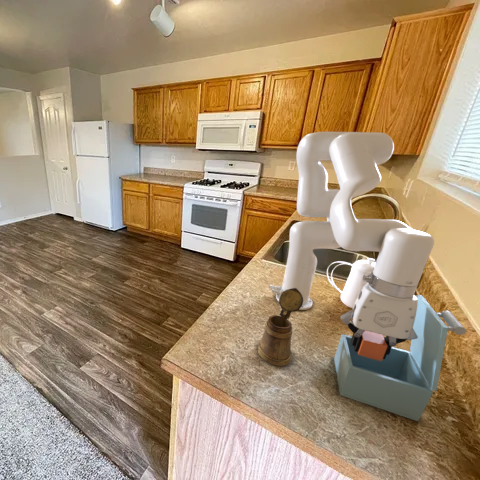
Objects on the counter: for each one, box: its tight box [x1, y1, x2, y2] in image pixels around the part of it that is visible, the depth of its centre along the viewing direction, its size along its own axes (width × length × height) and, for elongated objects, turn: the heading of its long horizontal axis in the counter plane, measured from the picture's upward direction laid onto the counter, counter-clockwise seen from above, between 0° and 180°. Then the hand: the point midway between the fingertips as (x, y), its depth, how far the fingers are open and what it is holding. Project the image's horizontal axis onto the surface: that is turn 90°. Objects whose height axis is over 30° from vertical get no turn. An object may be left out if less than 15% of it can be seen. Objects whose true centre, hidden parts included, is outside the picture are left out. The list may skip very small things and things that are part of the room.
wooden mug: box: [257, 288, 303, 367], centre depth 74 cm, size 9×14×18 cm, turn 136°
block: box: [358, 330, 387, 361], centre depth 63 cm, size 4×4×4 cm
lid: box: [409, 294, 467, 392], centre depth 57 cm, size 15×13×5 cm
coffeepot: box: [326, 257, 376, 310], centre depth 96 cm, size 11×25×19 cm, turn 44°
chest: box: [333, 333, 434, 422], centre depth 65 cm, size 15×13×9 cm
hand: (368, 350), depth 64 cm, fingers closed on block, 4 cm apart
